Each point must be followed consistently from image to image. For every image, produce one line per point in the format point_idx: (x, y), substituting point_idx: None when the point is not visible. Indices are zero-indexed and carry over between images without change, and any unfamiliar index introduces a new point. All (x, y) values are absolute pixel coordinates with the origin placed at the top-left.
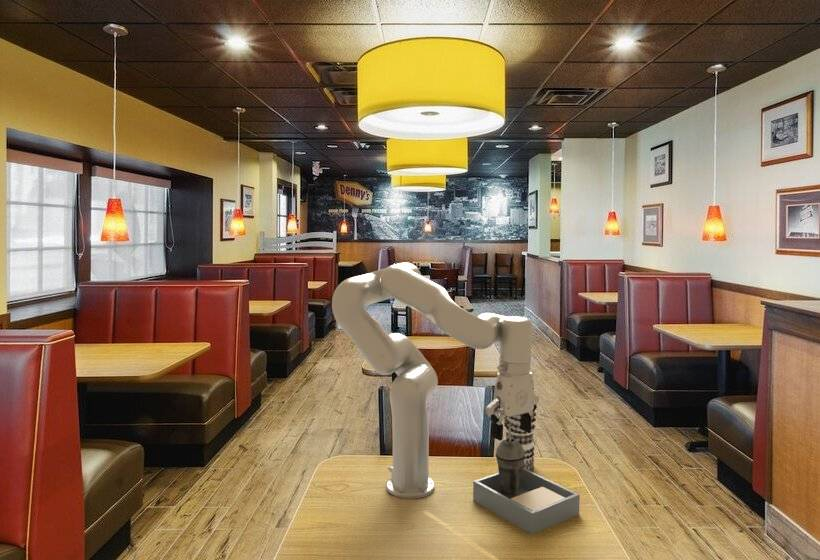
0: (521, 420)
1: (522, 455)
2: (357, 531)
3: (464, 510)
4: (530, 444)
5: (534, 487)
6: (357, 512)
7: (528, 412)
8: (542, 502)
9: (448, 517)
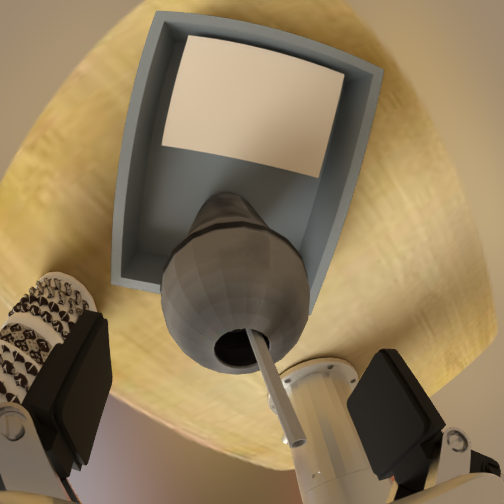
0: (94, 426)
1: (229, 233)
2: (456, 331)
3: (333, 274)
4: (19, 320)
5: (138, 194)
6: (417, 369)
7: (52, 477)
8: (272, 82)
9: (376, 277)
